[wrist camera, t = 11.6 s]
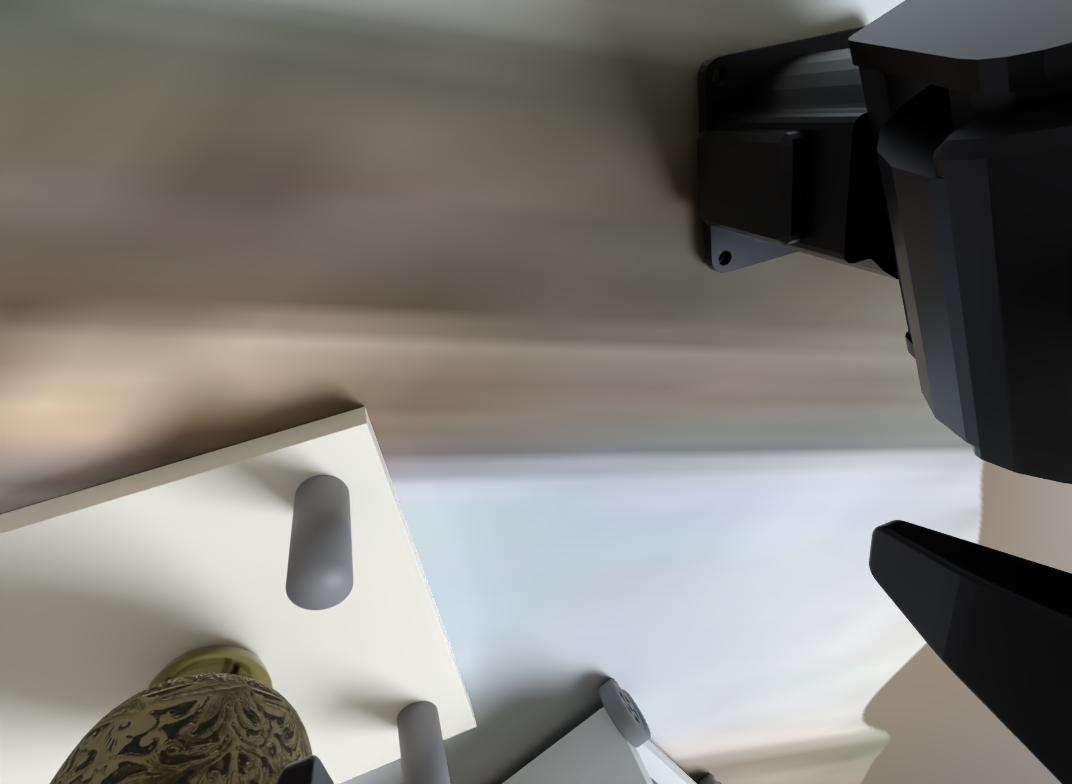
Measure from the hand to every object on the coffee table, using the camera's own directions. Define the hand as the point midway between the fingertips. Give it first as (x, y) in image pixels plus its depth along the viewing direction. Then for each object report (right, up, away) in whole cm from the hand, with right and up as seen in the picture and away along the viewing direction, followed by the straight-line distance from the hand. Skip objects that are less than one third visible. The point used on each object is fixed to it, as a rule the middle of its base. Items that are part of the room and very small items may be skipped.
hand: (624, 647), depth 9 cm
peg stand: (-12, -5, +12) cm, 18 cm away
